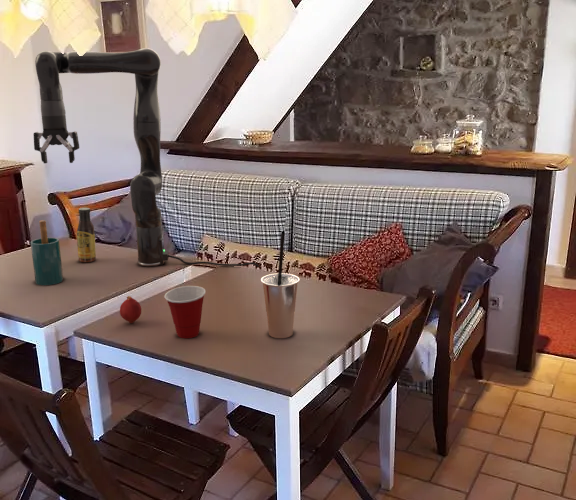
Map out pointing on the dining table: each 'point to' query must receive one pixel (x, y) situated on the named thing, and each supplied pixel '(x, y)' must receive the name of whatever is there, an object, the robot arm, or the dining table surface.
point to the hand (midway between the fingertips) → (58, 162)
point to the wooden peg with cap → (43, 232)
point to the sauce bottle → (85, 237)
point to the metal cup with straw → (280, 299)
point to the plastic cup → (186, 309)
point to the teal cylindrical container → (47, 261)
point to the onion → (130, 310)
